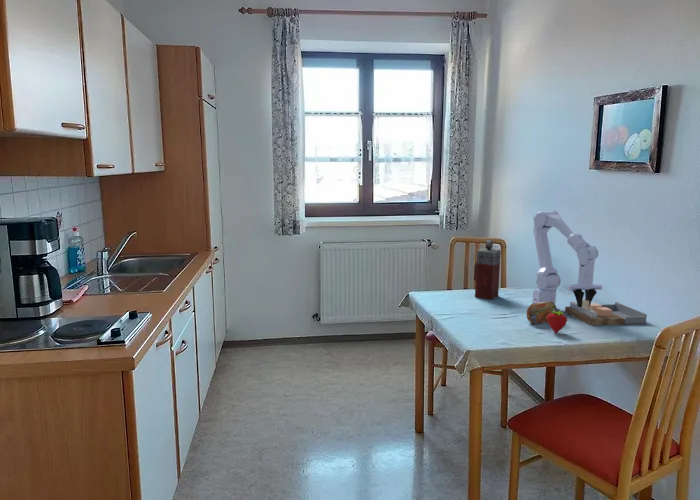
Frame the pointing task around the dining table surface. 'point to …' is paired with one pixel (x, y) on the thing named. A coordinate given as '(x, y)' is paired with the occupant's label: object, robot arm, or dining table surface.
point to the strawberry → (556, 320)
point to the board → (596, 321)
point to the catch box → (627, 313)
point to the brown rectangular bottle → (487, 272)
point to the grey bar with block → (584, 308)
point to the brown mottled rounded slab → (540, 312)
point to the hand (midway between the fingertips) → (583, 306)
